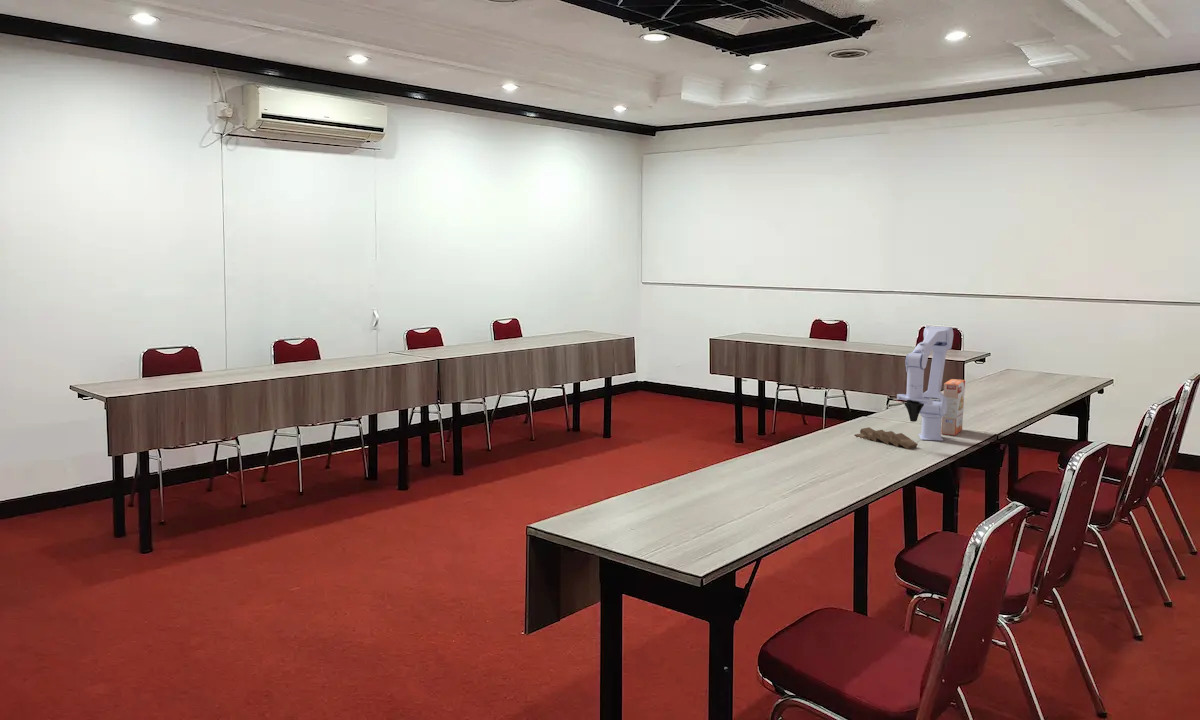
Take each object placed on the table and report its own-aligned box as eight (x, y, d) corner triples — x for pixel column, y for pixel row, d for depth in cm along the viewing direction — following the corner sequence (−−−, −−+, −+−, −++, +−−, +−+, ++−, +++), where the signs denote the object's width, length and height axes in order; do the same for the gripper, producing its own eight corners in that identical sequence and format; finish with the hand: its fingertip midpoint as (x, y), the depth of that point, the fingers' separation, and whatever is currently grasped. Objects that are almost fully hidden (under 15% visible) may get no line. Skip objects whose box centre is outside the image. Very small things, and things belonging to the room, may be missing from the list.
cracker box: (956, 436, 337) (959, 384, 334) (940, 434, 340) (943, 383, 337) (963, 429, 348) (966, 379, 345) (947, 428, 351) (950, 378, 349)
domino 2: (875, 441, 329) (859, 432, 335) (884, 439, 331) (868, 430, 337) (876, 438, 328) (860, 429, 334) (885, 436, 331) (869, 427, 337)
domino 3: (887, 444, 324) (872, 434, 330) (896, 442, 326) (880, 433, 333) (888, 440, 323) (873, 431, 329) (897, 439, 326) (882, 429, 332)
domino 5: (907, 449, 316) (891, 438, 322) (916, 447, 319) (900, 436, 325) (908, 445, 315) (892, 434, 321) (917, 443, 318) (901, 433, 324)
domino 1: (879, 436, 333) (863, 432, 340) (870, 438, 331) (854, 434, 338) (878, 440, 334) (863, 436, 340) (869, 442, 331) (854, 438, 338)
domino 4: (897, 446, 320) (881, 436, 326) (906, 445, 323) (890, 434, 328) (898, 443, 319) (882, 432, 325) (907, 441, 322) (891, 431, 328)
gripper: (891, 383, 318) (890, 419, 320) (924, 388, 306) (922, 425, 308) (904, 381, 322) (903, 416, 324) (937, 387, 309) (935, 423, 311)
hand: (913, 421), depth 316 cm, fingers closed
